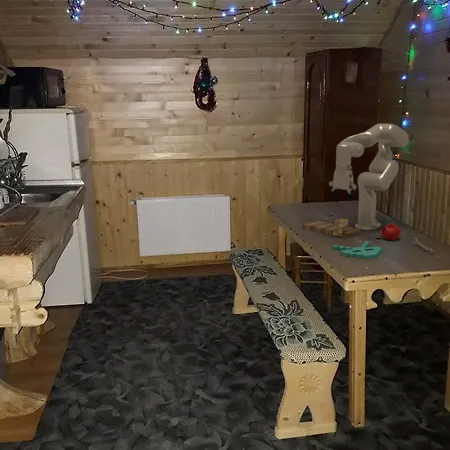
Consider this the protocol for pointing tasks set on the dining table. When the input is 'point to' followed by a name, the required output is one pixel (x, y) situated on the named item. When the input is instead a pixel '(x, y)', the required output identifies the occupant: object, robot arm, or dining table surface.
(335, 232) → the tan cardboard box
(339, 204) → the dining table surface
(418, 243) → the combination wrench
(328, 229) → the walnut board
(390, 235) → the pomegranate
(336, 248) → the alien figure
